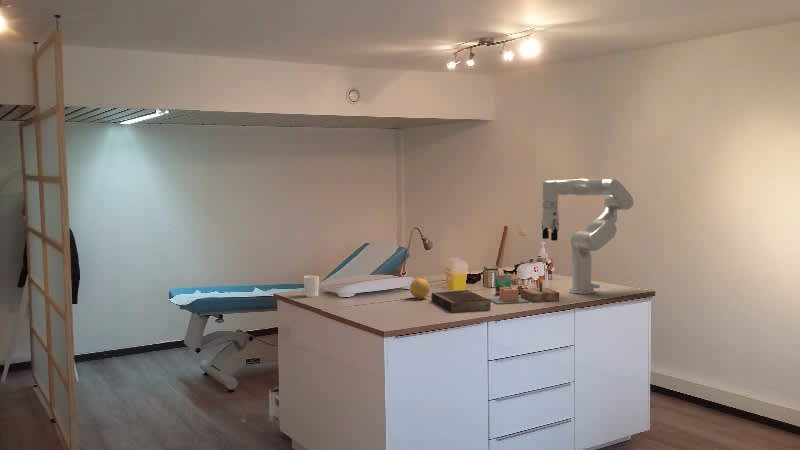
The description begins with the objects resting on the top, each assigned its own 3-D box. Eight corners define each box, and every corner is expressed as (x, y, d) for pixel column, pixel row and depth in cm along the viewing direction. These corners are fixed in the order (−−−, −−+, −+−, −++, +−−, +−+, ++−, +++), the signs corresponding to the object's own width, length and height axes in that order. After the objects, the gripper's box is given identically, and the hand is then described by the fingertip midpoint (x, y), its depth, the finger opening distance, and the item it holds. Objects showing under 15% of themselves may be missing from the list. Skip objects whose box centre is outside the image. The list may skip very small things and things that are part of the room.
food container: (505, 296, 365) (505, 276, 364) (494, 294, 368) (494, 275, 367) (516, 292, 374) (516, 273, 374) (506, 291, 378) (506, 272, 377)
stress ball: (428, 298, 363) (415, 284, 367) (436, 285, 357) (423, 271, 361) (415, 304, 356) (402, 290, 360) (423, 291, 350) (410, 277, 354)
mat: (518, 297, 358) (518, 296, 358) (529, 302, 346) (529, 301, 346) (487, 299, 355) (487, 298, 355) (497, 304, 342) (497, 303, 342)
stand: (546, 295, 364) (546, 279, 363) (559, 300, 350) (559, 283, 350) (520, 297, 360) (520, 280, 360) (532, 302, 347) (532, 285, 346)
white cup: (320, 294, 372) (320, 275, 371) (317, 297, 364) (317, 277, 363) (305, 294, 372) (305, 275, 372) (302, 297, 365) (301, 277, 364)
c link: (512, 298, 355) (512, 287, 354) (518, 300, 348) (518, 289, 347) (499, 298, 353) (499, 287, 353) (505, 301, 346) (505, 290, 346)
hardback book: (431, 302, 352) (431, 292, 351) (467, 300, 357) (467, 290, 356) (451, 313, 324) (451, 302, 323) (490, 311, 329) (490, 300, 328)
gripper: (565, 206, 354) (564, 240, 356) (549, 204, 371) (549, 237, 372) (551, 206, 352) (550, 241, 354) (535, 204, 369) (535, 238, 371)
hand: (549, 239), depth 363 cm, fingers open, 9 cm apart
